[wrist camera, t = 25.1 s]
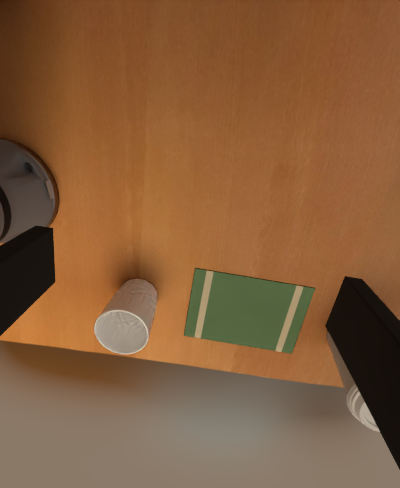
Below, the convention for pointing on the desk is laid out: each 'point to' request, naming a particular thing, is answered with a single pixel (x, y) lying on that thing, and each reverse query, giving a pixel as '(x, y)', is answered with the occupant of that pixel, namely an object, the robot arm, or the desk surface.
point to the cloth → (246, 310)
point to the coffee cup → (352, 390)
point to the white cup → (127, 318)
